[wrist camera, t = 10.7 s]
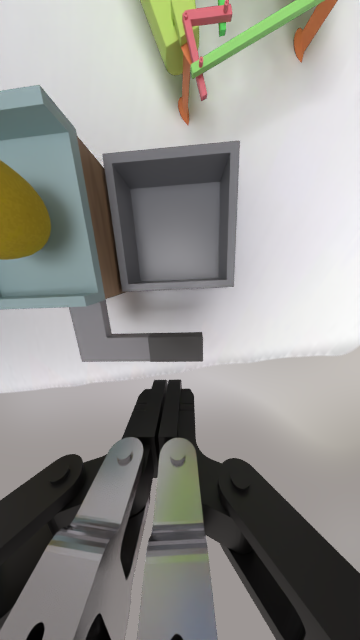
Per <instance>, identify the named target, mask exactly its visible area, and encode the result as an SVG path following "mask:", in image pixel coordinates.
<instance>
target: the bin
mask: <svg viewBox="0 0 360 640" xmlns="http://www.w3.org/2000/svg"><path fill="white" fill-rule="evenodd" d="M239 148H240V141H230V142H220V143H210V144H199V145H189V146H179V147H168V148H158V149H148V150H137V151H127V152H117V153H106V154H102V155H103V161H104V168H105V175H106V182H107V189H108V196H109V203H110V210H111V217H112V224H113V231H114V238H115V244H116V251H117V258H118V265H119V272H120V279H121V286H122V292H125V291H148V290H171V289H194V288H217V287H234V267H235V243H236V219H237V196H238V172H239Z"/></svg>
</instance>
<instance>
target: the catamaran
mask: <svg viewBox="0 0 360 640" xmlns="http://www.w3.org/2000/svg"><path fill="white" fill-rule="evenodd" d="M140 1H141V4H142V7H143V9H144V12H145V15H146V17H147V20H148V23H149V25H150V28H151V31H152V33H153V36H154V39H155V41H156V44H157V46H158V49H159V52H160V54H161V57H162V59H163V62H164V64H165V67H166V69H167V71H168V72H169V73H170V74H171V75H174V76H175V75H180V74H182V73H183V83H182V97H180V98H179V101H178V108H179V112H180V114H181V117H182V119H183V120H184V122H185V123H186V124H187V125H188V124H189V110H188V96H189V81H190V71H191V75H192V79H194V78H195V77H196V81H197V85H198V89H199V93H200V98H201V101H203V100H204V99H206V98H207V91H206V87H205V82H204V78H203V73H204V72H206V71H207V70H209V69H211V68H212V67H214V66H216V65H217V64H219V63H221V62H222V61H224V60H226V59H227V58H229V57H231V56H232V55H234V54H236V53H237V52H239V51H241V50H242V49H244V48H246V47H247V46H249V45H251V44H252V43H254V42H256V41H258V40H259V39H261V38H263V37H264V36H266V35H268V34H269V33H271V32H273V31H274V30H276V29H278V28H279V27H281V26H283V25H284V24H286V23H288V22H289V21H291V20H293V19H294V18H296V17H298V16H299V15H301V14H303V13H304V12H306V11H308V10H310V9H311V8H313V7H315V6H316V5H317V7H316V9H315V10H314V12H313V14H312V15H311V17H310V19H309V21H308V22H307V24H306V26H305V28H304V29H303V30H302V29H301V28H298V29H297V31H296V33H295V37H294V47H295V52H296V56H297V58H298V59H299V60H300V62H301V63H302V58H303V54H304V51H305V50H306V48H307V47H308V45H309V44H310V42H311V41H312V39H313V37H314V36H315V34H316V33H317V31H318V30H319V28H320V27H321V25H322V24H323V22H324V21H325V19H326V18H327V16H328V14H329V13H330V11H331V10H332V8H333V7H334V5H335V4H336V2H337V1H338V0H295V1H294V2H292V3H290V4H289V5H287V6H285V7H284V8H282V9H280V10H279V11H277V12H276V13H274V14H272V15H271V16H269V17H267V18H266V19H264V20H262V21H261V22H259V23H258V24H256V25H254V26H253V27H251V28H249V29H248V30H246V31H244V32H243V33H241V34H240V35H238V36H236V37H235V38H233V39H231V40H230V41H228V42H226V43H225V44H223V45H222V46H220V47H218V48H217V49H215V50H213V51H212V52H210V53H208V54H207V55H205V56H204V57H202V56H201V57H200V59H199V56H198V47H199V26H200V25H208V24H215V23H219V37H220V36H224V35H225V31H226V22H231V18H232V9H231V4H229V0H218V6H212V7H205V8H197V9H196V4H195V0H140ZM190 66H191V68H190Z"/></svg>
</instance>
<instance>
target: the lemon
mask: <svg viewBox="0 0 360 640" xmlns="http://www.w3.org/2000/svg"><path fill="white" fill-rule="evenodd" d="M50 232H51V221H50V217H49V213H48V210H47V208H46V206H45V204H44V202H43V200H42V199H41V197H40V196H39V195H38V193H37V192H36V191H35V190H34V188H33V187H32V186H31V185H30V184H29V183H28V182H27V181H26V180H25V179H24V178H23V177H22V176H20V175H19V174H18V173H17V172H16V171H14V170H13V169H12V168H11V167H9V166H8V165H7V164H5V163H4V162H2V161H1V160H0V259H1V260H9V259H18V258H22V257H26V256H30V255H32V254H34V253H36V252H37V251H39V250H41V249H42V248H43V247H44V245H45V244H46V243H47V241H48V239H49V237H50Z"/></svg>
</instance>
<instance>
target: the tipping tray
mask: <svg viewBox="0 0 360 640" xmlns="http://www.w3.org/2000/svg"><path fill="white" fill-rule="evenodd" d="M0 160H1V161H2V162H4V163H5V164H7V165H8V166H9V167H11V168H12V169H13V170H14V171H16V172H17V173H18V174H19V175H20V176H22V177H23V178H24V179H25V180H26V181H27V182H28V183H29V184H30V185H31V186H32V187H33V188H34V190H35V191H36V192H37V193H38V195H39V196H40V197H41V199H42V200H43V202H44V204H45V206H46V208H47V210H48V213H49V217H50V221H51V232H50V237H49V239H48V241H47V243H46V244H45V245H44V247H43V248H42V249H41V250H39V251H37V252H36V253H34V254H32V255H30V256H26V257H22V258H18V259H9V260H1V259H0V309H27V308H56V307H69V309H70V313H71V317H72V322H73V326H74V330H75V334H76V338H77V342H78V347H79V351H80V355H81V359H82V362H99V361H150V362H186V361H203V336H202V332H189V333H140V334H111V328H110V323H109V317H108V311H107V306H106V300H105V294H104V288H103V283H102V277H101V271H100V266H99V260H98V254H97V248H96V243H95V237H94V231H93V226H92V220H91V214H90V208H89V203H88V197H87V191H86V186H85V180H84V174H83V169H82V163H81V157H80V151H79V146H78V140H77V134H76V129H75V128H74V126H73V125H72V124H71V123H70V122H69V120H68V119H67V118H66V117H65V115H64V114H63V113H62V112H61V111H60V109H59V108H58V107H57V106H56V104H55V103H54V102H53V101H52V100H51V98H50V97H49V96H48V95H47V94H46V92H45V91H44V90H43V89H42V87H41V86H40V85H36V86H29V87H23V88H16V89H9V90H3V91H0Z"/></svg>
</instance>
